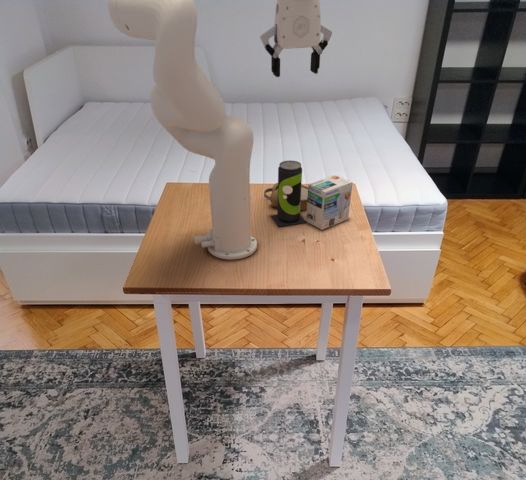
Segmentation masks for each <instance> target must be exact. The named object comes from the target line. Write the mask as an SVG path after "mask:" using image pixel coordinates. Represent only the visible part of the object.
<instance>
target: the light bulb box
mask: <svg viewBox="0 0 526 480" xmlns="http://www.w3.org/2000/svg"><path fill="white" fill-rule="evenodd" d="M307 187H308V198H307V210H306V216H305V218H306V219H305V221H306V223H308V224H310V225H312V226H313V227H316V228H317V229H319V230H321V231H322V230H325V229H327V228H331V227H333V226H335V225H338V224H340V223H343V222H346V221H348V220H349V214H350V208H351V207H350V206H351V200H352V191H353V181H350V180H348V179H346V178H344V177H341V176H339V175H337V174H334V175H331V176H328V177H326V178H323V179H320V180H317V181H314V182H312V183H308V184H307Z"/></svg>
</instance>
